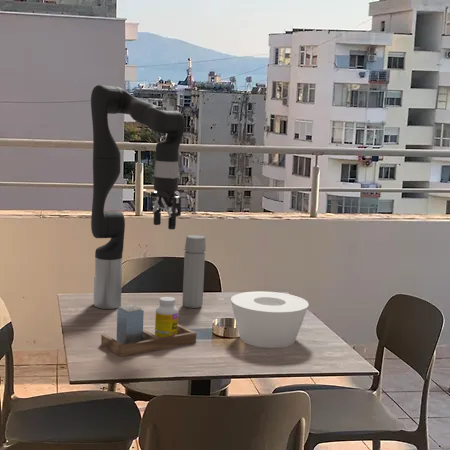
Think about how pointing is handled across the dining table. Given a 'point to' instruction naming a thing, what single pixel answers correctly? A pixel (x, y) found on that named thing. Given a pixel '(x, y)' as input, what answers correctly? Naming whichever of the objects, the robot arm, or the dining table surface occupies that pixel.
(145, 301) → the dining table surface
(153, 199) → the robot arm
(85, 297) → the dining table surface
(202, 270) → the water bottle
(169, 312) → the supplement bottle
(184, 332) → the caddy
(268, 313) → the white tapered pot
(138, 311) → the slate tin
